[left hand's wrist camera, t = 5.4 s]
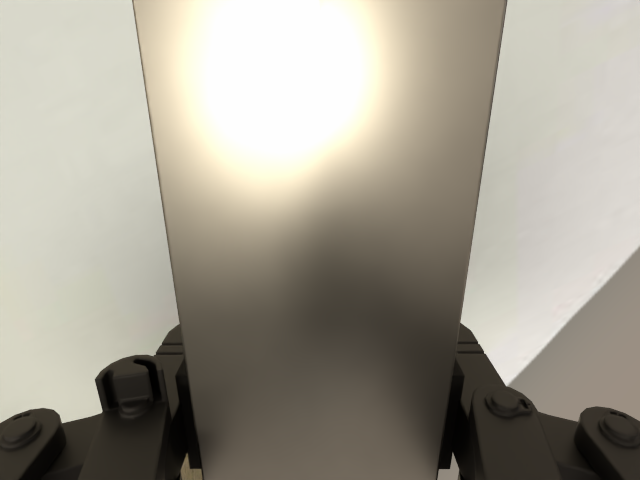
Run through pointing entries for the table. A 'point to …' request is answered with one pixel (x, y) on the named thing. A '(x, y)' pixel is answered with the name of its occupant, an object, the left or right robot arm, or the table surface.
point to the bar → (319, 221)
